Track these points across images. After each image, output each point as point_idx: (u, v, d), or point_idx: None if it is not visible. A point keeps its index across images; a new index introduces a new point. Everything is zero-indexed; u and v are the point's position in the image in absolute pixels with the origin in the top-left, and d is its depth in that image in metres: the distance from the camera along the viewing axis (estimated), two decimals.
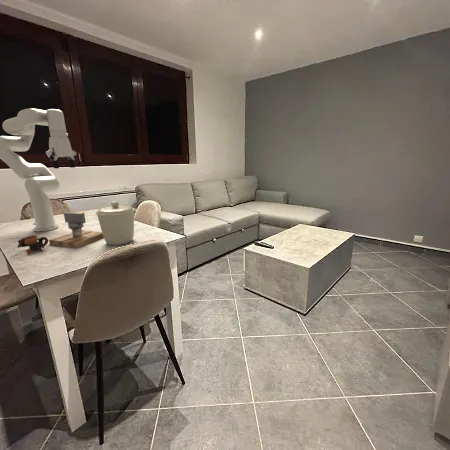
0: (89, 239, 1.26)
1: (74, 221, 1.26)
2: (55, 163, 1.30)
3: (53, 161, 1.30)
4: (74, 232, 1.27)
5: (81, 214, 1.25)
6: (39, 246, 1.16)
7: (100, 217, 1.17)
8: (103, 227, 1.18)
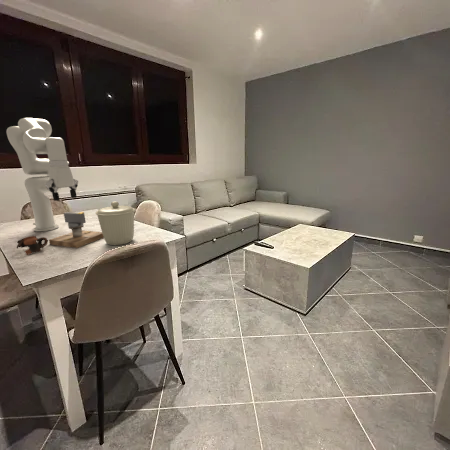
0: (89, 239, 1.26)
1: (74, 221, 1.26)
2: (55, 195, 1.20)
3: (53, 193, 1.19)
4: (74, 232, 1.27)
5: (81, 214, 1.25)
6: (38, 246, 1.15)
7: (100, 217, 1.17)
8: (103, 227, 1.18)
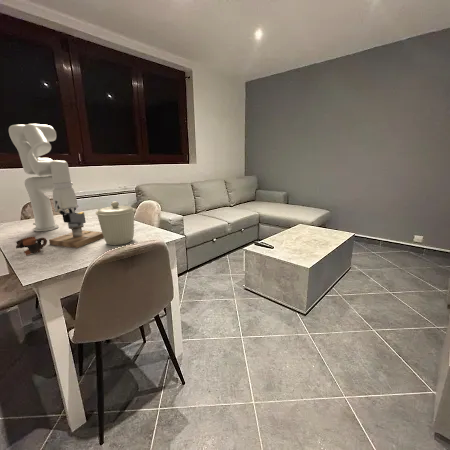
0: (89, 239, 1.26)
1: (74, 221, 1.26)
2: (65, 217, 1.26)
3: (63, 216, 1.26)
4: (74, 232, 1.27)
5: (81, 214, 1.25)
6: (38, 247, 1.14)
7: (100, 217, 1.17)
8: (103, 227, 1.18)
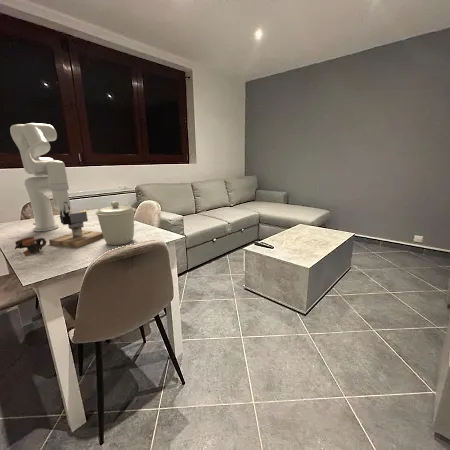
0: (89, 239, 1.26)
1: (77, 220, 1.27)
2: (68, 219, 1.24)
3: (67, 217, 1.23)
4: (74, 232, 1.27)
5: None
6: (37, 247, 1.14)
7: (100, 217, 1.17)
8: (103, 227, 1.18)
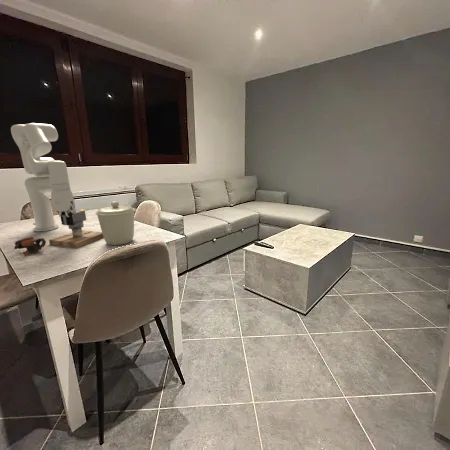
0: (89, 239, 1.26)
1: (78, 220, 1.28)
2: (71, 219, 1.23)
3: (70, 217, 1.22)
4: (74, 232, 1.27)
5: None
6: (36, 248, 1.13)
7: (100, 217, 1.17)
8: (103, 227, 1.18)
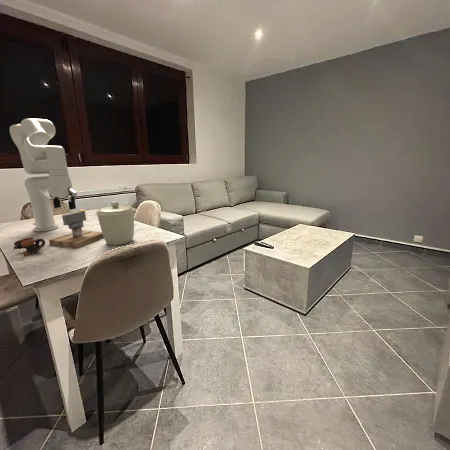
0: (89, 239, 1.26)
1: (78, 220, 1.28)
2: None
3: (73, 202, 1.20)
4: (74, 232, 1.27)
5: None
6: (36, 248, 1.13)
7: (100, 217, 1.17)
8: (103, 227, 1.18)
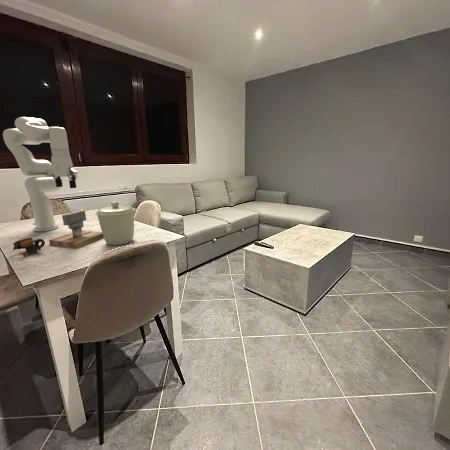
0: (89, 239, 1.26)
1: (78, 220, 1.28)
2: (74, 182, 1.28)
3: (73, 181, 1.27)
4: (74, 232, 1.27)
5: None
6: (35, 248, 1.13)
7: (100, 217, 1.17)
8: (103, 227, 1.18)
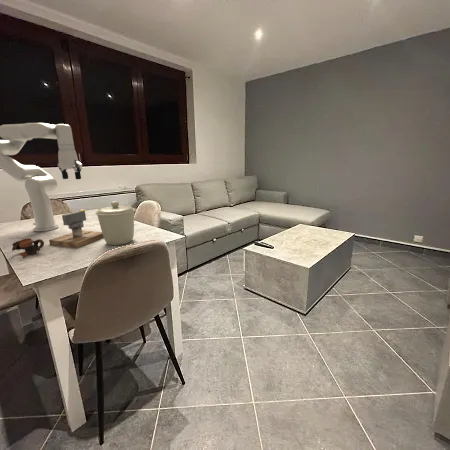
0: (89, 239, 1.26)
1: (78, 220, 1.28)
2: (79, 174, 1.42)
3: (78, 172, 1.41)
4: (74, 232, 1.27)
5: None
6: (35, 249, 1.12)
7: (100, 217, 1.17)
8: (103, 227, 1.18)
